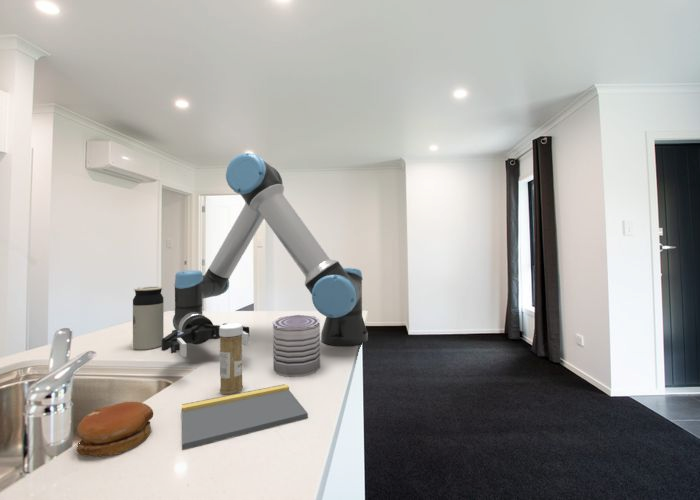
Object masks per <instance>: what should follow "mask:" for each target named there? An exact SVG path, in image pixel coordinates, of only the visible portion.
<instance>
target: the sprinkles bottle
mask: <svg viewBox="0 0 700 500" xmlns="http://www.w3.org/2000/svg"><path fill="white" fill-rule="evenodd" d="M243 326H244V325H243V324H241V323H226V324H225V325H223V324H221V325H220V327H219V336H220V338H219V376H220V377H219V378H220V387H219V392H220V394H223V395H225V396H227V395H232V394H237V393H241V391H242V390H243V389H244V386H243V344H242V334H243Z"/></svg>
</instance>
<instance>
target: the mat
mask: <svg viewBox="0 0 700 500" xmlns="http://www.w3.org/2000/svg"><path fill="white" fill-rule="evenodd" d="M308 415H309V412H308V411H306V410H305V408H304V407H303V405H302V404H301V403H300V402H299V400H298V399H297V398H296V397H295V396H294V394H293V393H292V392H291V391H290V386H289V385H288V384H287V383H286V384H285V383H283V384H279V385H273V386H268V387H262V388H258V389H253V390H247V391H244V392H238V393H235V394H229V395H223V396H218V397H213V398H208V399H203V400H197V401H192V402H187V403H182V404H181V428H182V429H181V431H182V432H181V433H182V434H181V436H182V438H181V439H182V441H181V443H182V444H181V445H182V450H186V449H187V450H188V449H191V448H193V447H194V448H195V447H199V446H202V445H206V444H207V445H208V444H211V443H215V442H218V441H223V440H226V439H230V438H233V437H239V436H241V435H246V434H250V433H253V432H258V431H261V430H267V429H270V428H272V427H276V426H282V425H284V424H285V425H286V424H289V423H294V422H297V421H301V420H305V419H309V418H308V417H309V416H308Z"/></svg>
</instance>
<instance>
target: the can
mask: <svg viewBox="0 0 700 500" xmlns="http://www.w3.org/2000/svg"><path fill="white" fill-rule="evenodd" d="M321 322H322V320H321V319H319V318H317V317H316V316H314V315H304V314H303V315H302V314H296V315H287V316H282V317H281V316H280V317H279V318H277V319H275V320H274V321H272V322H271V323H272V325H273V326H272V328H273V329H272V330H273V331H272V332H273V335H272V338H273V339H272V340H273V344H272V345H273V354H272V355H273V371H274V372H275V374H276V375H278V376H282V377H285V378H296V377H297V378H299V377H307V376H309V375H313V374H316V373H317V372H318V371H319V369H320V368H321V341H320V340H321V336H320V335H321V333H320V331H321V330H320V329H321V327H320V326H321Z"/></svg>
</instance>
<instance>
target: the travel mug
mask: <svg viewBox="0 0 700 500" xmlns="http://www.w3.org/2000/svg"><path fill="white" fill-rule="evenodd" d="M162 290H163V286H142V287H134V289H133V291H134V293H135V295H134V297H133V299H132V349H134V350H136V351H146V349H148V350H153V349H152V348H154V349H157V347H158V348H160V347H162V339H163V338H165V336H164V296H163V294H162Z"/></svg>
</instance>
